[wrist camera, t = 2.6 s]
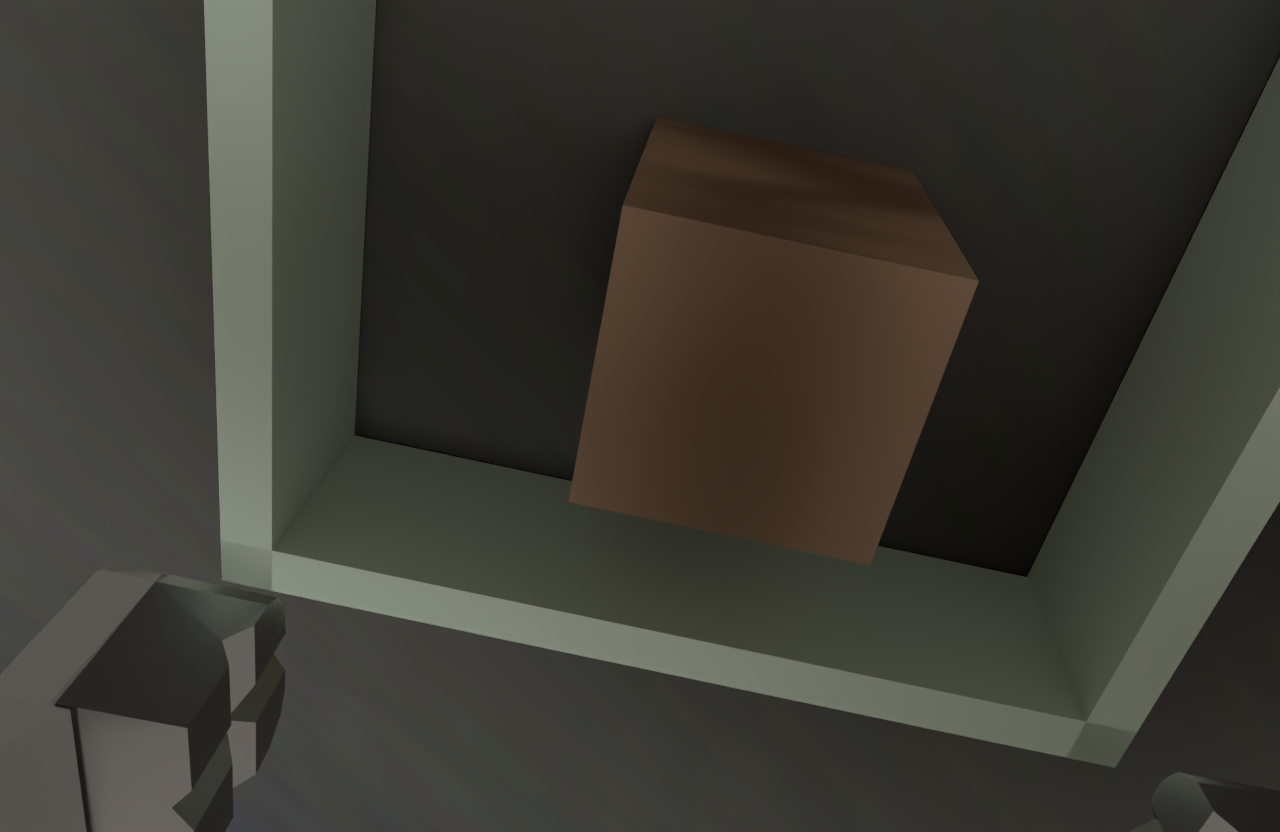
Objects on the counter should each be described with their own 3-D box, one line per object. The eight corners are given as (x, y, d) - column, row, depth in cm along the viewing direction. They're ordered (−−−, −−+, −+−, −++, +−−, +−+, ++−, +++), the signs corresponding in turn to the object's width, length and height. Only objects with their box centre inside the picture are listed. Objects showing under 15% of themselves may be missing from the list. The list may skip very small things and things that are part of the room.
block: (912, 170, 19) (978, 280, 13) (838, 396, 21) (869, 565, 16) (657, 116, 19) (622, 204, 13) (612, 348, 21) (568, 501, 16)
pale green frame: (1445, -143, 15) (1685, -156, 11) (1052, 618, 23) (1114, 767, 19) (331, -385, 15) (189, -480, 11) (311, 461, 23) (221, 580, 19)
